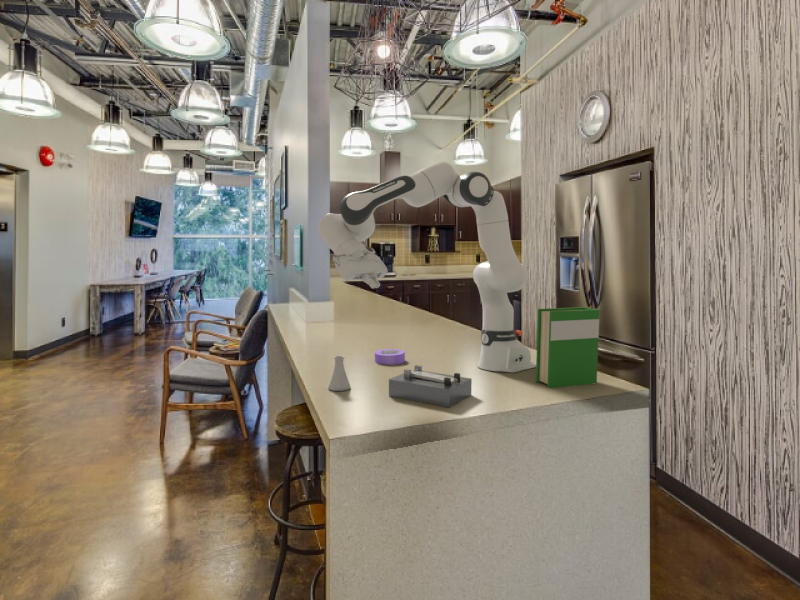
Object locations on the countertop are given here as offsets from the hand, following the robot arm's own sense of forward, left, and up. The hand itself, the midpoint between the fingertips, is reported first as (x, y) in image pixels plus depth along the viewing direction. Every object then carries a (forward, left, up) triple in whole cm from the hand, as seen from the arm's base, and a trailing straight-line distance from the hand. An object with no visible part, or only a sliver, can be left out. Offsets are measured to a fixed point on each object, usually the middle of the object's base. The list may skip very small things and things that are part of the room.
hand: (376, 286), depth 148 cm
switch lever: (-9, +18, -26) cm, 33 cm away
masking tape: (-19, -29, -32) cm, 47 cm away
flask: (+12, -3, -32) cm, 34 cm away
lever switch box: (-9, +17, -31) cm, 37 cm away
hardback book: (-55, +26, -32) cm, 69 cm away
